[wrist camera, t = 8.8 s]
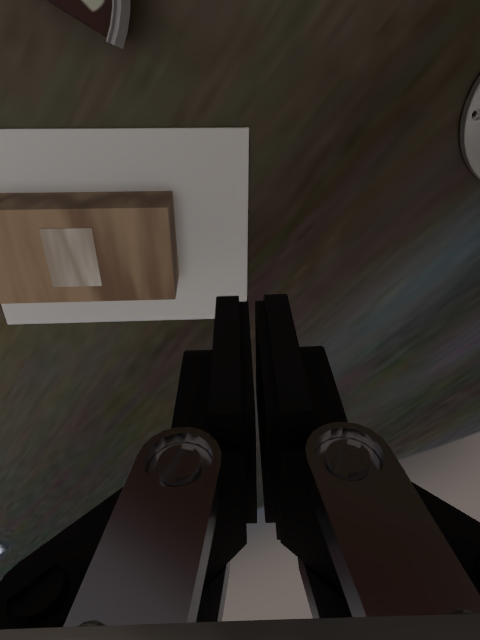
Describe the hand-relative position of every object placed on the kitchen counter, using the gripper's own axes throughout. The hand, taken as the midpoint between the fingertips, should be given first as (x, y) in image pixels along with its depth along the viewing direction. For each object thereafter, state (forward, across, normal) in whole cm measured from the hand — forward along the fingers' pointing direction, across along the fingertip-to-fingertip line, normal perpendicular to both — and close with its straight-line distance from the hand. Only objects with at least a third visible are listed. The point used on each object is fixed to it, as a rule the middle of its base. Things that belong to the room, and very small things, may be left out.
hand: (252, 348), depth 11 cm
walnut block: (+27, +6, +8) cm, 28 cm away
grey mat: (+30, +11, +7) cm, 32 cm away
